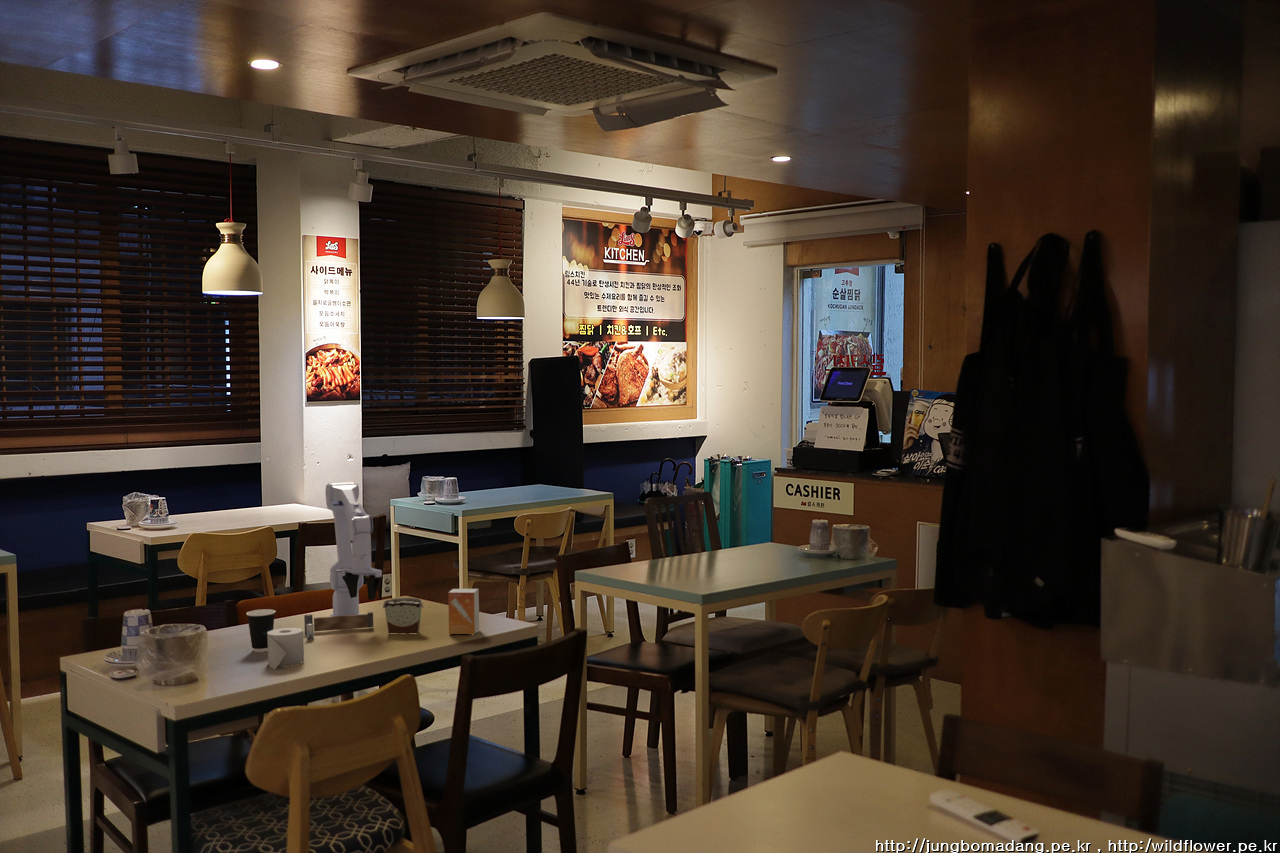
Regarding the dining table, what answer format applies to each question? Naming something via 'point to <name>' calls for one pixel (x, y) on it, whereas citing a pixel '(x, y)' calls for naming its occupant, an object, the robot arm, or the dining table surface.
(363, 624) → the brown long bar
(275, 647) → the toilet tissue
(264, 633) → the dixie cup
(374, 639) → the dining table surface
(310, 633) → the post
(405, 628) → the food container
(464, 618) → the small box
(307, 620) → the hinge post
